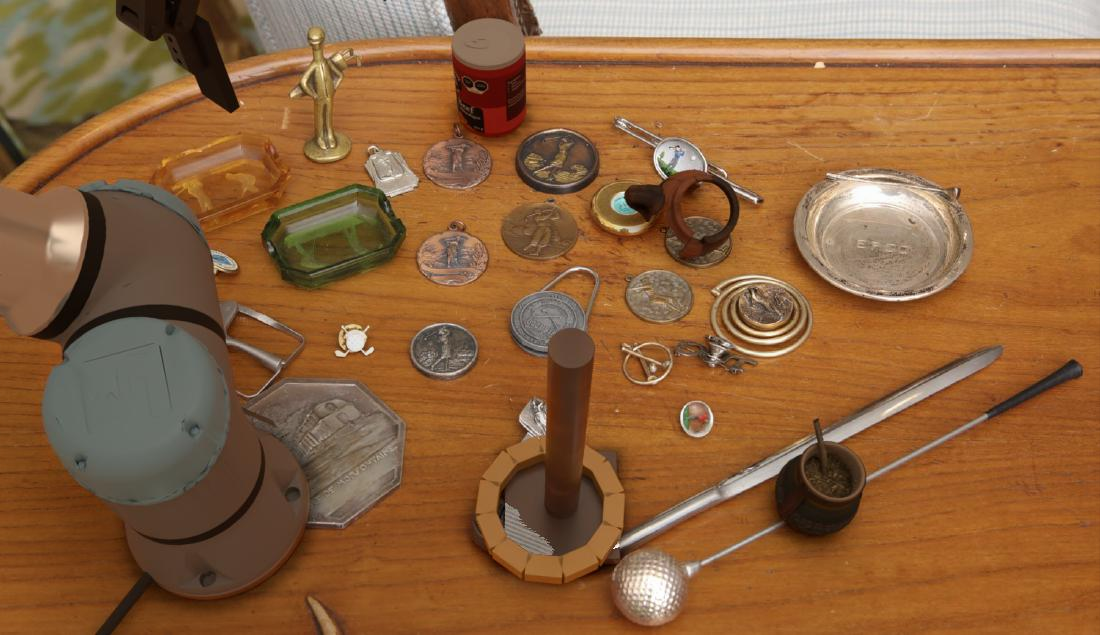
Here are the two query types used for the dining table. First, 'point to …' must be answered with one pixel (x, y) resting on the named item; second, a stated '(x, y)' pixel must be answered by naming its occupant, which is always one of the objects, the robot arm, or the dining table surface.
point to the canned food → (490, 76)
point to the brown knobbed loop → (671, 192)
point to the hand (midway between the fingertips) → (301, 43)
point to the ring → (538, 564)
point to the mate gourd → (820, 487)
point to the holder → (563, 454)
